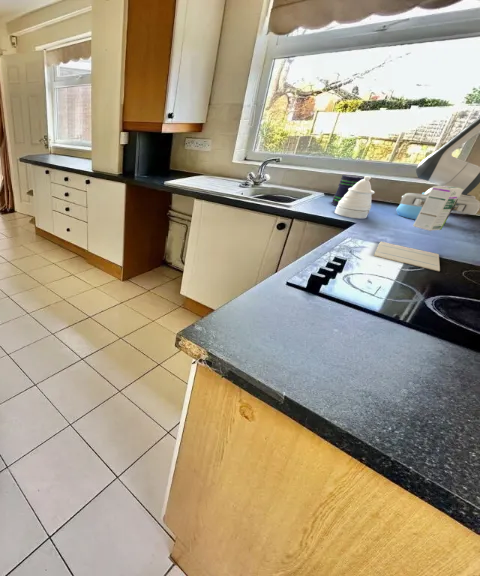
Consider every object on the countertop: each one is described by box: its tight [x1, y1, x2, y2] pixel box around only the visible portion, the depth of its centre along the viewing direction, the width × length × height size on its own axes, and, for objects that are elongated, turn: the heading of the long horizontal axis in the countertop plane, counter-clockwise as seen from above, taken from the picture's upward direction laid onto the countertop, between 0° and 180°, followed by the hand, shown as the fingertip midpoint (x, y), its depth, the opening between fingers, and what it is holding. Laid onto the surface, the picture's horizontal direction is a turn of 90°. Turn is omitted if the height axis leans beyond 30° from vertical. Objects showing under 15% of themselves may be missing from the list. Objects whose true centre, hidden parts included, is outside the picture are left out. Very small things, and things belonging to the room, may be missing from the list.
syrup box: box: [412, 185, 464, 232], centre depth 110 cm, size 6×6×14 cm
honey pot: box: [334, 175, 376, 220], centre depth 149 cm, size 13×13×18 cm
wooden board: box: [373, 241, 441, 272], centre depth 107 cm, size 16×20×1 cm
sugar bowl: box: [396, 191, 426, 220], centre depth 153 cm, size 15×15×12 cm
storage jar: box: [331, 174, 365, 206], centre depth 169 cm, size 10×10×15 cm
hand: (438, 206), depth 109 cm, fingers closed on syrup box, 7 cm apart
